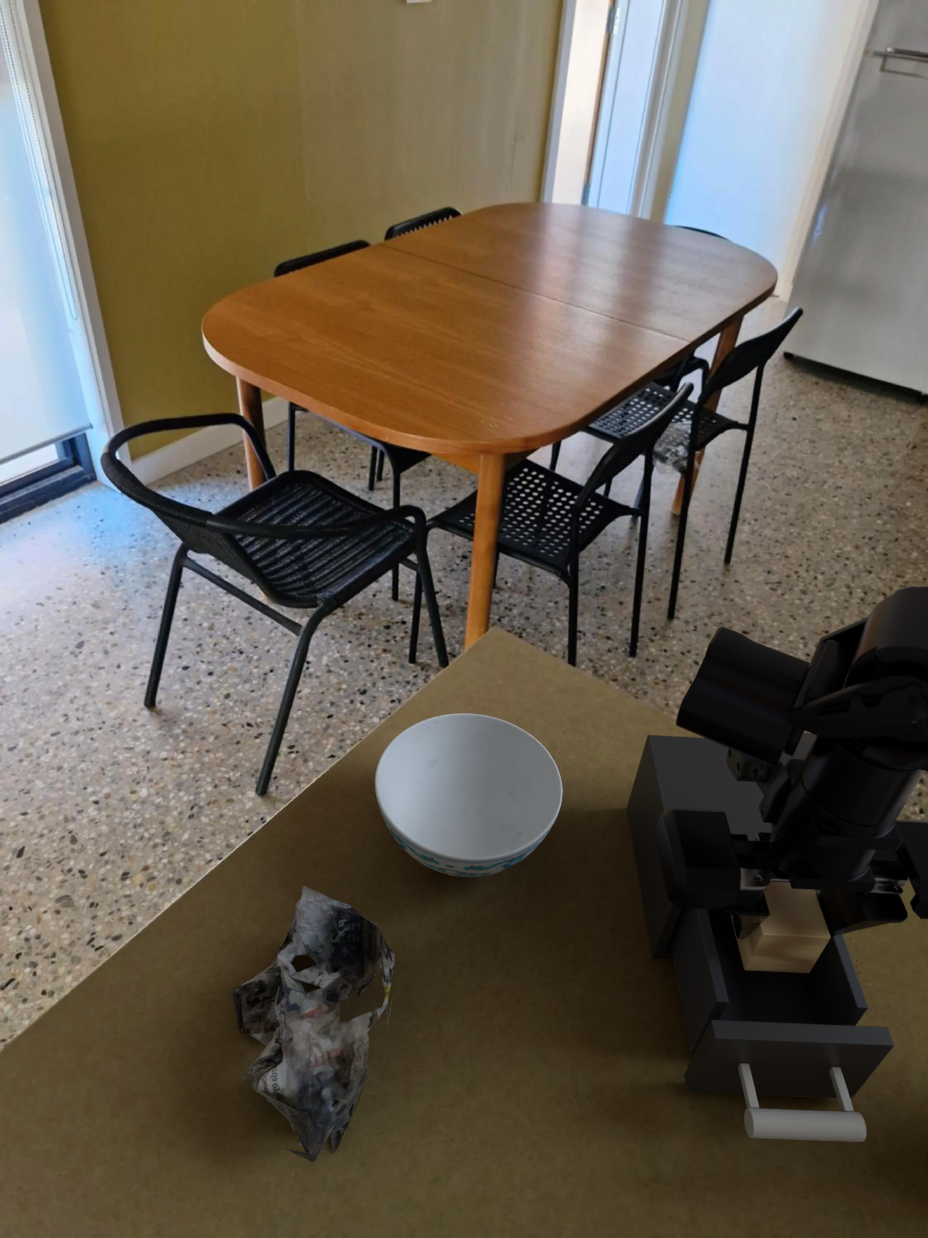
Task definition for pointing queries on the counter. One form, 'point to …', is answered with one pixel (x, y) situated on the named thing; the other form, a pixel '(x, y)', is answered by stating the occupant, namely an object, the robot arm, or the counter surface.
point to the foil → (314, 1020)
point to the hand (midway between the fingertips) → (772, 934)
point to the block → (786, 932)
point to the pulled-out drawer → (774, 1030)
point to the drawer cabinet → (682, 781)
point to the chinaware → (467, 793)
